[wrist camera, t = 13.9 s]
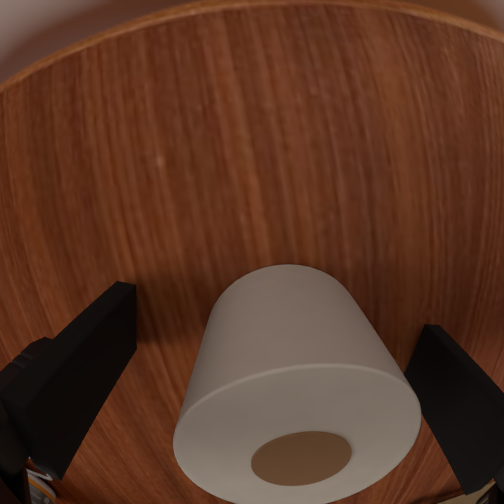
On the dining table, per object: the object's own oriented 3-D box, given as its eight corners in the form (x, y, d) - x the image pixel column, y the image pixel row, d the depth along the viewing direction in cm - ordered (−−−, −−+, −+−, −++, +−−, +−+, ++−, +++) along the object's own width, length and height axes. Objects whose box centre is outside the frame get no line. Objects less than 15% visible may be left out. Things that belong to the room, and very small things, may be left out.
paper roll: (382, 285, 10) (467, 378, 5) (326, 402, 12) (352, 511, 6) (226, 244, 10) (192, 334, 4) (195, 377, 11) (163, 493, 6)
